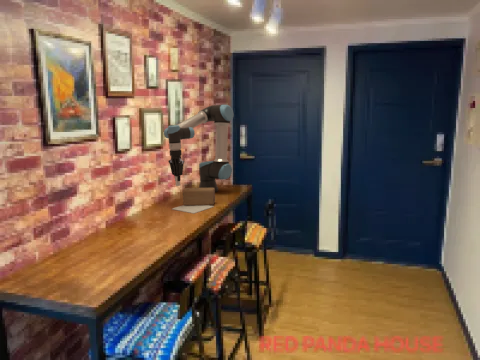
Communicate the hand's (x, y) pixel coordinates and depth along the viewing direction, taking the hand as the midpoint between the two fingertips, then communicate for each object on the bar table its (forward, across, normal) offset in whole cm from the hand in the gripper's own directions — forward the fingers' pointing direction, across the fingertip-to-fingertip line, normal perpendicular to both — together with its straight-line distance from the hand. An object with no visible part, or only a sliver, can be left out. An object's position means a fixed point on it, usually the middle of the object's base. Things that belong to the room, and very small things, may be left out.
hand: (178, 185), depth 241 cm
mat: (+13, +12, 0) cm, 18 cm away
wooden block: (+8, +1, +3) cm, 9 cm away
